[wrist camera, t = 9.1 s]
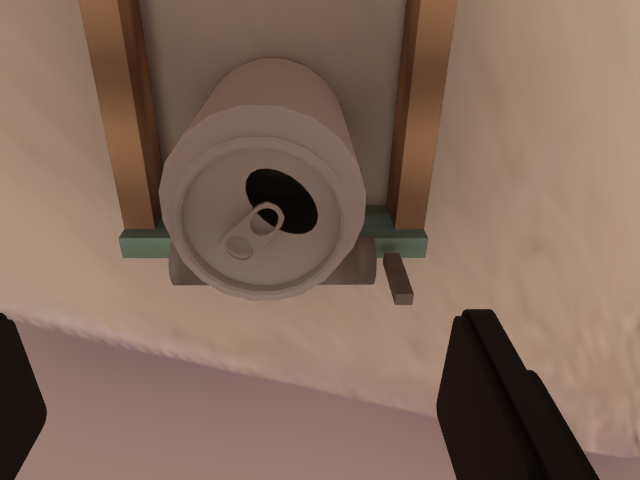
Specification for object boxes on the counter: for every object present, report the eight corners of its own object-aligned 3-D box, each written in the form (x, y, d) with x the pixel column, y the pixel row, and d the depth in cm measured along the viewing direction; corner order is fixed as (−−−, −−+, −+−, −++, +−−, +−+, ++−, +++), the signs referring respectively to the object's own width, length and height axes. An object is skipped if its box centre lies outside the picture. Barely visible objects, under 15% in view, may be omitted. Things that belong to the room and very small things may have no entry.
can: (371, 128, 27) (418, 230, 16) (277, 213, 29) (265, 351, 19) (273, 21, 24) (254, 62, 13) (177, 125, 26) (98, 229, 16)
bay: (74, -165, 20) (-58, -244, 13) (458, -151, 21) (548, -217, 13) (145, 231, 29) (92, 322, 22) (409, 232, 30) (446, 319, 23)
